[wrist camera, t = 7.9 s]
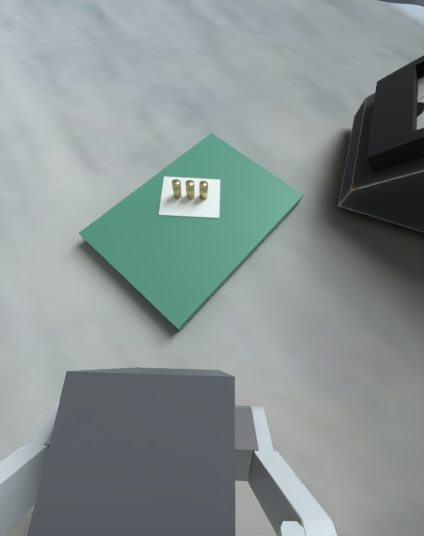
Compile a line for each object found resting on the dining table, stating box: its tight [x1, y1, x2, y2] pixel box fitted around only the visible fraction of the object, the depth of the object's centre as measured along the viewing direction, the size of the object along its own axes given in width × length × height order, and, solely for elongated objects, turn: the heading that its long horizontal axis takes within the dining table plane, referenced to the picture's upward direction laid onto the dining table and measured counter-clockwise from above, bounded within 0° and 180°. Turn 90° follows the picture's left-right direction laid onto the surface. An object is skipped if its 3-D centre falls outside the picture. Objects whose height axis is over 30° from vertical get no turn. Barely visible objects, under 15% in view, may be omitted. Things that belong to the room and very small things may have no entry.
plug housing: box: [28, 368, 235, 536], centre depth 10 cm, size 5×4×8 cm
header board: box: [79, 133, 303, 331], centre depth 26 cm, size 20×14×2 cm
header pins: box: [172, 179, 208, 200], centre depth 25 cm, size 1×4×2 cm, turn 88°
